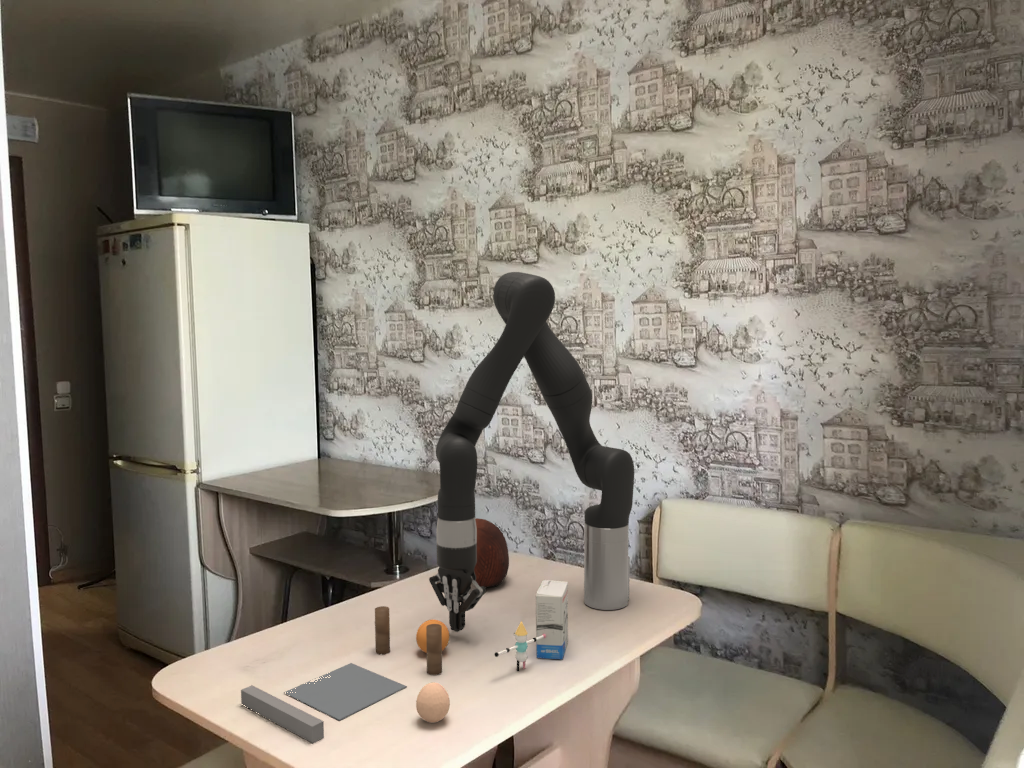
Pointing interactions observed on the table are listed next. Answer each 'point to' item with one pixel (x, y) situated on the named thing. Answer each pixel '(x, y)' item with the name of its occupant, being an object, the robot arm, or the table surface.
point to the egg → (432, 702)
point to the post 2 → (434, 649)
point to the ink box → (552, 619)
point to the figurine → (490, 554)
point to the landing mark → (345, 691)
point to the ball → (422, 637)
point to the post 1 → (382, 630)
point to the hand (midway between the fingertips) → (457, 629)
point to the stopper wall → (283, 714)
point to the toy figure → (520, 645)
